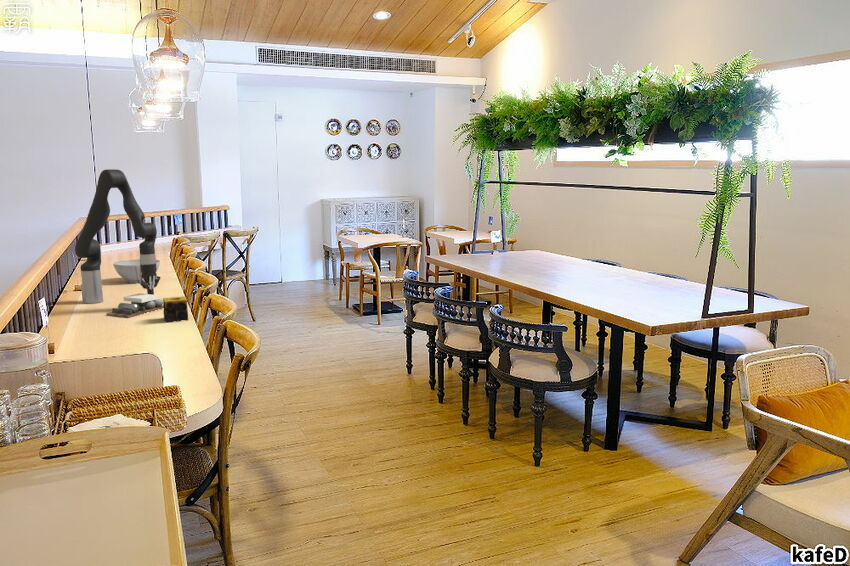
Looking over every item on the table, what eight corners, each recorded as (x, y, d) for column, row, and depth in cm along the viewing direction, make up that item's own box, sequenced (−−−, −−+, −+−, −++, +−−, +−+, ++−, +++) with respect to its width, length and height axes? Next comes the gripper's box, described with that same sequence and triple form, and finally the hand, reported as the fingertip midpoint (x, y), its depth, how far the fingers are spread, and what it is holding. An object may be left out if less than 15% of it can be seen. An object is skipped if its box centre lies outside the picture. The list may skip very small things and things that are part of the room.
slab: (123, 300, 323) (123, 296, 322) (139, 297, 332) (139, 293, 331) (141, 302, 318) (141, 298, 318) (157, 298, 327) (157, 295, 327)
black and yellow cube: (165, 323, 300) (164, 301, 298) (163, 318, 309) (161, 297, 307) (188, 320, 305) (187, 299, 303) (185, 316, 314) (184, 295, 312)
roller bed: (106, 315, 315) (105, 305, 314) (145, 305, 337) (145, 296, 336) (128, 318, 310) (127, 307, 309) (166, 307, 331) (165, 298, 330)
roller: (118, 311, 319) (117, 303, 318) (124, 310, 322) (124, 302, 322) (133, 313, 315) (133, 304, 314) (139, 312, 318) (139, 303, 318)
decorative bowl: (150, 285, 394) (148, 265, 392) (106, 285, 395) (104, 265, 393) (168, 277, 421) (166, 259, 419) (127, 277, 421) (125, 259, 419)
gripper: (152, 260, 335) (155, 293, 338) (132, 264, 323) (135, 298, 326) (163, 261, 332) (166, 294, 335) (143, 265, 320) (146, 299, 323)
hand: (150, 296), depth 331 cm, fingers closed
